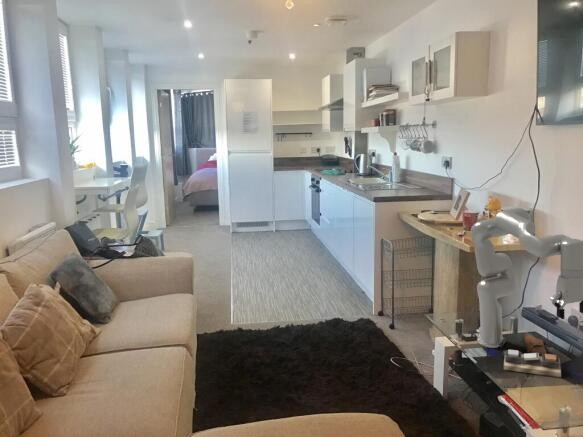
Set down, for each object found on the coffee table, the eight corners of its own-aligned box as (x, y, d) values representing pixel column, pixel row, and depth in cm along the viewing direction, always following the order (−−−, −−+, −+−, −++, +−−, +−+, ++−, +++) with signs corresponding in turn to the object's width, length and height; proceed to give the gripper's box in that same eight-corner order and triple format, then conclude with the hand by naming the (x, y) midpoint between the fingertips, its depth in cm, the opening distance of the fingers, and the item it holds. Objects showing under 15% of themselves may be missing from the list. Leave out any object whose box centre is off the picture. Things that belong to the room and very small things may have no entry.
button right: (545, 362, 190) (545, 358, 189) (544, 358, 193) (544, 353, 193) (556, 364, 188) (556, 359, 188) (555, 359, 191) (555, 354, 191)
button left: (508, 358, 196) (507, 353, 196) (508, 353, 200) (508, 349, 199) (518, 359, 194) (518, 355, 194) (518, 355, 198) (518, 350, 198)
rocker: (524, 360, 193) (523, 357, 193) (524, 355, 197) (523, 353, 197) (539, 359, 191) (538, 356, 190) (539, 355, 194) (538, 352, 194)
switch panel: (503, 369, 194) (503, 359, 193) (505, 356, 205) (505, 346, 204) (561, 377, 184) (561, 367, 184) (559, 362, 195) (559, 353, 194)
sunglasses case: (550, 358, 199) (541, 346, 199) (534, 365, 201) (525, 352, 202) (543, 340, 215) (535, 328, 215) (529, 346, 218) (520, 334, 218)
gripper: (584, 266, 174) (584, 308, 177) (544, 273, 171) (544, 315, 174) (601, 271, 167) (600, 315, 170) (559, 278, 164) (558, 323, 167)
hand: (572, 315), depth 172 cm, fingers open, 9 cm apart
